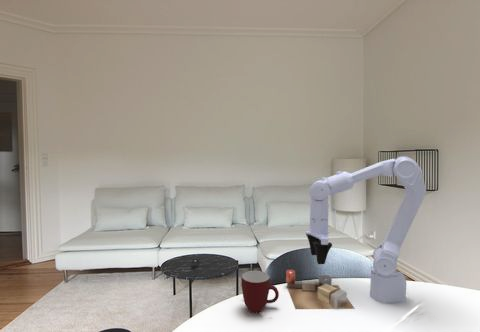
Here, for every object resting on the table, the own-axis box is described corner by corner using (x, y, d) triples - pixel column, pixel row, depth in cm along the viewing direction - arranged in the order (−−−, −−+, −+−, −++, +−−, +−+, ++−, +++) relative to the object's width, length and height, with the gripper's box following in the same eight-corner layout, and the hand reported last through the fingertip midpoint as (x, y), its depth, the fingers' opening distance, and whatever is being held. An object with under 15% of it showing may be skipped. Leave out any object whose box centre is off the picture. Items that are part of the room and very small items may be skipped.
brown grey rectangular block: (340, 300, 96) (340, 289, 96) (346, 303, 95) (346, 291, 95) (330, 306, 93) (330, 294, 93) (336, 308, 92) (336, 297, 91)
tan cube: (325, 294, 100) (326, 283, 100) (336, 299, 97) (337, 288, 97) (317, 298, 98) (317, 287, 97) (328, 304, 94) (328, 292, 94)
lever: (329, 284, 106) (330, 270, 106) (332, 291, 102) (333, 276, 101) (285, 283, 107) (285, 268, 107) (286, 289, 102) (286, 274, 102)
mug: (276, 302, 97) (276, 270, 96) (280, 317, 89) (280, 282, 88) (240, 303, 97) (241, 270, 96) (241, 318, 89) (241, 282, 88)
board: (337, 288, 107) (337, 285, 107) (354, 311, 92) (354, 308, 92) (286, 288, 106) (286, 285, 106) (295, 312, 92) (295, 309, 92)
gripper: (301, 212, 111) (300, 251, 112) (312, 224, 97) (311, 268, 98) (322, 212, 112) (320, 251, 113) (335, 224, 97) (334, 268, 98)
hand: (317, 259), depth 105 cm, fingers open, 7 cm apart
